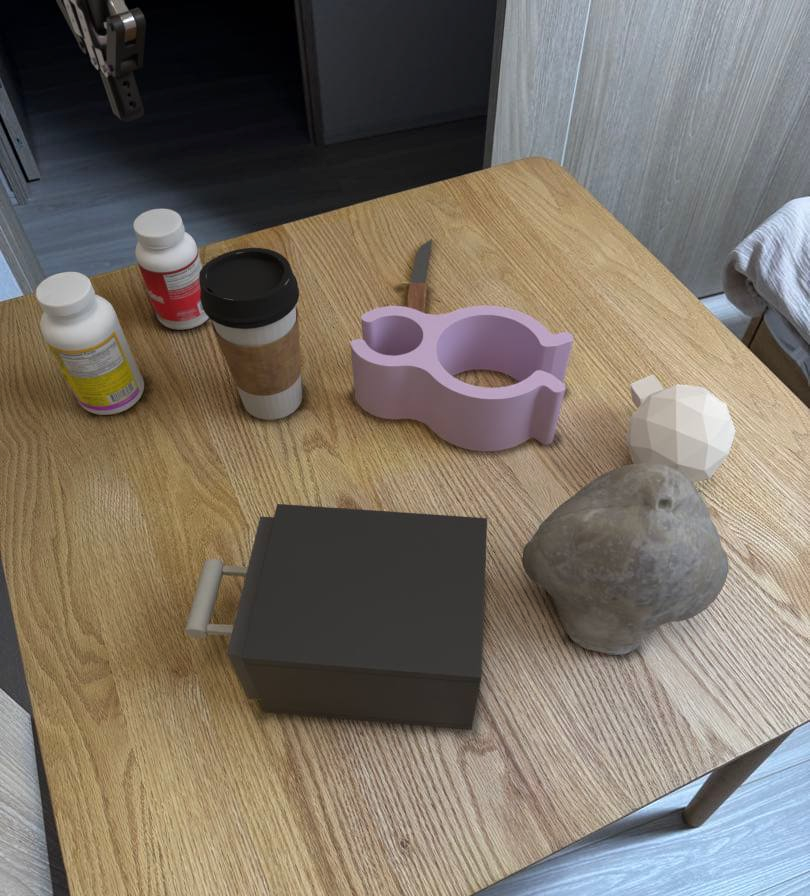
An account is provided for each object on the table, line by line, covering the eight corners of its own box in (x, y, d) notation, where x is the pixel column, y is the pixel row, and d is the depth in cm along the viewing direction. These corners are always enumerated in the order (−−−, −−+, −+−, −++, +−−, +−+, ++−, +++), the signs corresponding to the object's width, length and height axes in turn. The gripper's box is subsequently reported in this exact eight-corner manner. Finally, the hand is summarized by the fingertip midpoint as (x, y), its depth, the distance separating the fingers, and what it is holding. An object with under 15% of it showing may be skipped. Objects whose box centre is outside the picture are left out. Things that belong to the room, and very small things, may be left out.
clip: (343, 427, 73) (337, 374, 67) (375, 342, 79) (373, 287, 74) (549, 463, 70) (561, 411, 64) (564, 372, 77) (577, 317, 71)
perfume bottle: (753, 483, 66) (688, 400, 74) (755, 411, 59) (683, 328, 67) (660, 522, 67) (605, 436, 75) (650, 456, 60) (591, 369, 68)
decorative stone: (513, 649, 59) (539, 544, 47) (515, 542, 65) (539, 423, 53) (707, 666, 58) (786, 563, 46) (692, 555, 64) (759, 437, 52)
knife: (406, 233, 88) (432, 234, 88) (406, 241, 89) (432, 242, 89) (395, 328, 79) (423, 329, 79) (395, 335, 80) (423, 336, 80)
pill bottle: (151, 304, 83) (119, 212, 74) (205, 289, 85) (180, 197, 76) (164, 338, 80) (132, 247, 71) (220, 322, 81) (195, 231, 72)
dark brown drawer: (191, 694, 57) (163, 649, 50) (225, 566, 63) (204, 511, 56) (440, 715, 55) (443, 671, 49) (449, 583, 62) (453, 529, 55)
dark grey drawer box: (265, 712, 57) (240, 658, 49) (294, 571, 64) (276, 503, 56) (471, 730, 56) (481, 677, 48) (477, 584, 63) (487, 517, 55)
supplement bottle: (89, 370, 78) (37, 262, 67) (152, 371, 77) (110, 264, 67) (70, 417, 74) (12, 312, 63) (137, 419, 74) (90, 313, 63)
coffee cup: (213, 399, 75) (173, 271, 63) (278, 357, 78) (252, 227, 66) (266, 443, 72) (235, 317, 59) (332, 397, 75) (316, 269, 63)
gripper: (143, -140, 48) (207, 131, 63) (56, -184, 54) (133, 73, 69) (33, -112, 46) (126, 164, 60) (-46, -161, 52) (56, 101, 66)
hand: (129, 115), depth 64 cm, fingers closed
